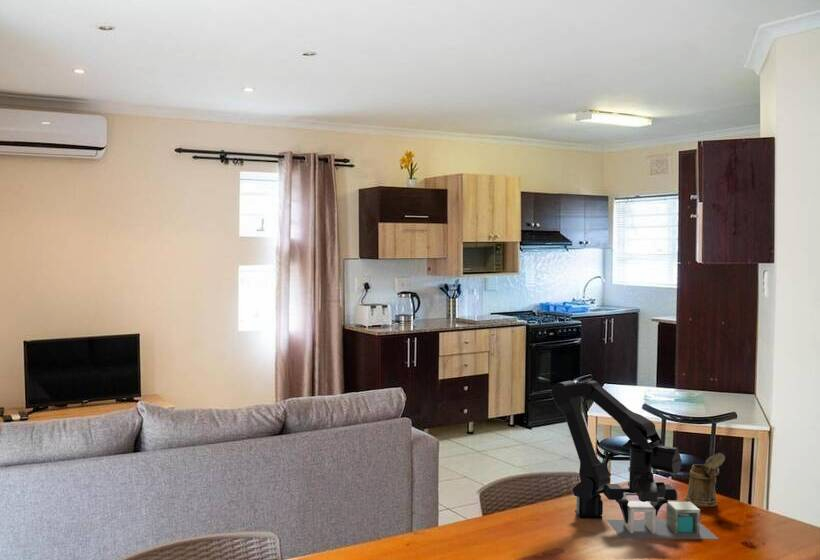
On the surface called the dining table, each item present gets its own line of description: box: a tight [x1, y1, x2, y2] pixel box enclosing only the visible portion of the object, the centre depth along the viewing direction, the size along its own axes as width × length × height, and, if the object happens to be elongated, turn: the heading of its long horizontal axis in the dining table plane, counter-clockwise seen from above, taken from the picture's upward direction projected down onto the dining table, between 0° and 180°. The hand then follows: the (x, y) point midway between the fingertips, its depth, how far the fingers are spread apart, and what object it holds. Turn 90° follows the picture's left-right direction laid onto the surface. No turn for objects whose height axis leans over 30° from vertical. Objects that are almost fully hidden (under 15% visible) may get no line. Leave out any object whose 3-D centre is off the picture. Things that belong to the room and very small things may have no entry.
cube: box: [678, 512, 693, 532], centre depth 207 cm, size 4×4×4 cm
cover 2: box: [665, 501, 701, 534], centre depth 207 cm, size 7×7×6 cm
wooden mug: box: [684, 451, 726, 508], centre depth 228 cm, size 9×14×18 cm, turn 10°
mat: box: [606, 519, 719, 540], centre depth 207 cm, size 26×14×1 cm, turn 91°
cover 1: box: [622, 500, 657, 533], centre depth 206 cm, size 7×7×6 cm
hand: (639, 523), depth 207 cm, fingers closed on cover 1, 7 cm apart
